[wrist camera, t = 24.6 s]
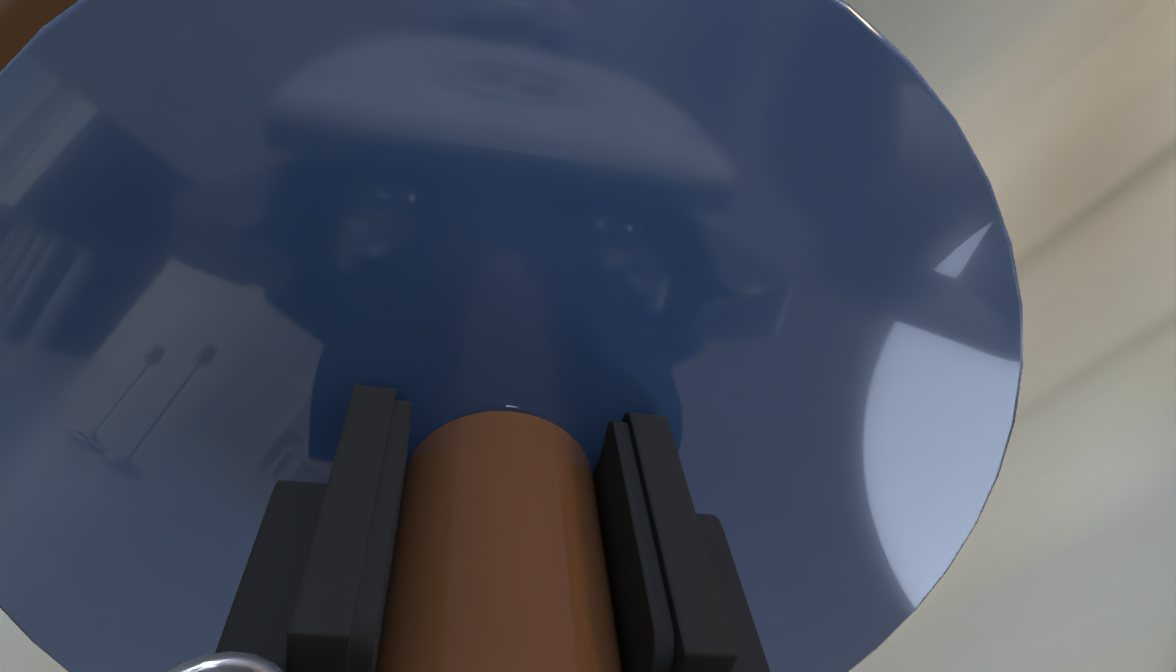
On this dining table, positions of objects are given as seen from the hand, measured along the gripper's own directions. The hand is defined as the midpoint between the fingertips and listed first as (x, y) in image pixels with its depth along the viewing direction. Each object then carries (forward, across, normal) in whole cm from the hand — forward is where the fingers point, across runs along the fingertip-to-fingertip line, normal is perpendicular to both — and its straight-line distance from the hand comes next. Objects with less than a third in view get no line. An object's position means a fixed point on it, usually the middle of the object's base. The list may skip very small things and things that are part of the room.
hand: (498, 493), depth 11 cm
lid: (+1, 0, 0) cm, 1 cm away
